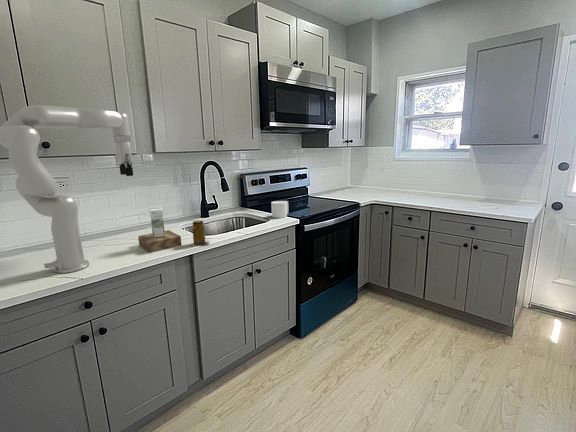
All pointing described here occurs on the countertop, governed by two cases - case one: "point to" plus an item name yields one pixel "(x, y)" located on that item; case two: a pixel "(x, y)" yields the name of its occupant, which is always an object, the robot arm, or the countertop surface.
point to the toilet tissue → (279, 209)
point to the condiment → (199, 234)
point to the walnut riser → (159, 241)
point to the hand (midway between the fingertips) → (126, 175)
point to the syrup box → (157, 222)
